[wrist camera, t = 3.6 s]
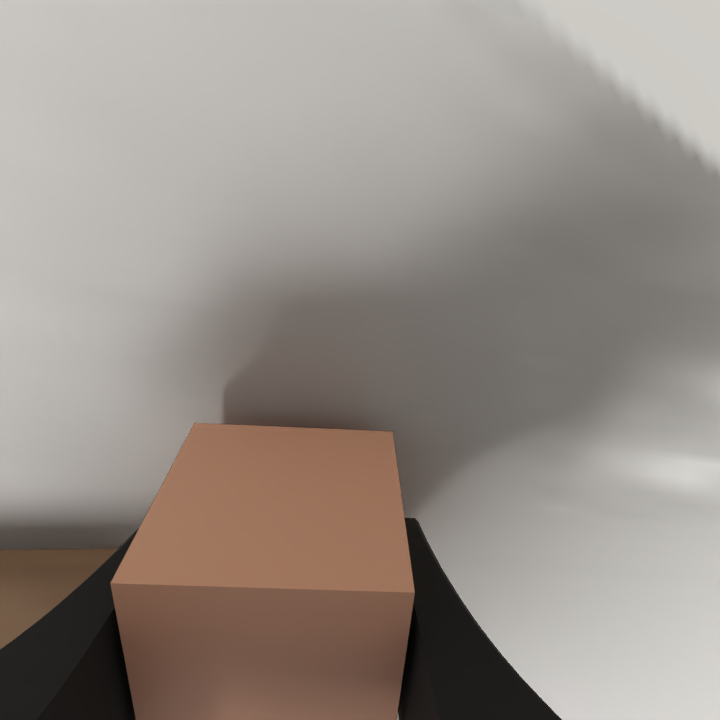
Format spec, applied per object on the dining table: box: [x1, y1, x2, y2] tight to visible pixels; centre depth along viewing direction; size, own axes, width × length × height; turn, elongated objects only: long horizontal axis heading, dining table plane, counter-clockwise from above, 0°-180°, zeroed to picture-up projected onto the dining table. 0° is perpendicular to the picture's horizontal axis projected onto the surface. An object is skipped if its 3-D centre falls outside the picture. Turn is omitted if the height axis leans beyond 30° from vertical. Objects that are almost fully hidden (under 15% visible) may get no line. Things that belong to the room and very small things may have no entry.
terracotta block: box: [110, 423, 415, 720], centre depth 12 cm, size 5×5×5 cm
